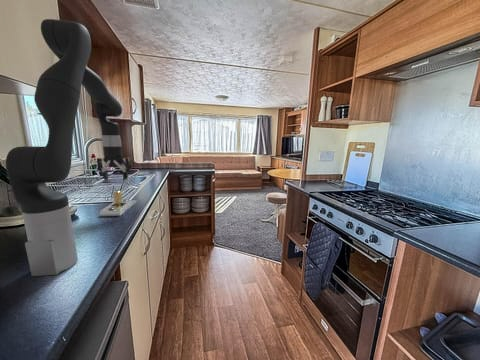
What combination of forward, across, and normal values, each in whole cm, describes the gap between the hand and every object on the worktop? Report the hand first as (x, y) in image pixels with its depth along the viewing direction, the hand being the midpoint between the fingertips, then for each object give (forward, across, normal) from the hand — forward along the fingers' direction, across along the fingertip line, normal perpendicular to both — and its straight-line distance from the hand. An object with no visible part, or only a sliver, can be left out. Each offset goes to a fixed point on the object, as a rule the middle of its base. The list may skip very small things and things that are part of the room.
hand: (115, 179), depth 100 cm
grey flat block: (+15, 0, 0) cm, 15 cm away
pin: (+15, 0, 0) cm, 15 cm away
